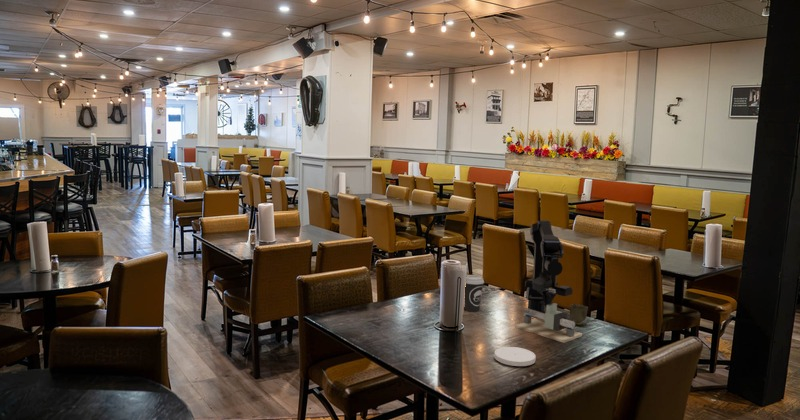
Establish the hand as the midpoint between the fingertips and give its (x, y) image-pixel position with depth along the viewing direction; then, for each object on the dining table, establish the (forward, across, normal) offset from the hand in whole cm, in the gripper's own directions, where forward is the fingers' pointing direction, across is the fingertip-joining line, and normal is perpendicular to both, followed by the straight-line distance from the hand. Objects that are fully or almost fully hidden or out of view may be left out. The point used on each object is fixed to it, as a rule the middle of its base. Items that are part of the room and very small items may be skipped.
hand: (547, 307), depth 230 cm
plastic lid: (+10, +12, -36) cm, 39 cm away
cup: (+10, +4, +18) cm, 21 cm away
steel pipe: (+10, +1, 0) cm, 10 cm away
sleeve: (+7, +3, 0) cm, 8 cm away
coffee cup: (+10, -37, -2) cm, 39 cm away
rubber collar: (+7, +6, 0) cm, 9 cm away
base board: (+10, +1, 0) cm, 10 cm away
